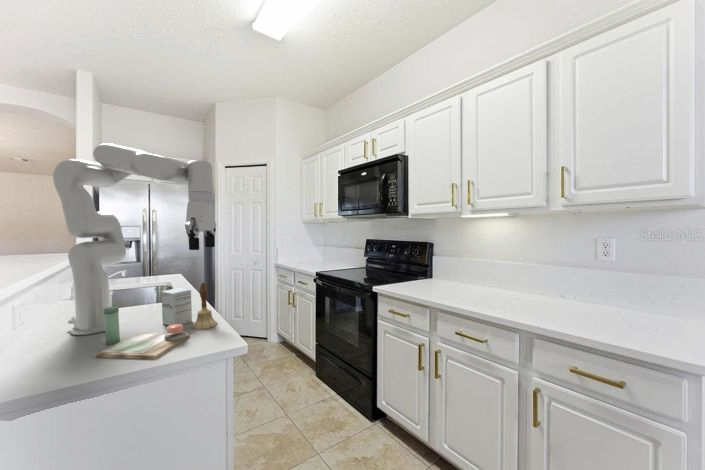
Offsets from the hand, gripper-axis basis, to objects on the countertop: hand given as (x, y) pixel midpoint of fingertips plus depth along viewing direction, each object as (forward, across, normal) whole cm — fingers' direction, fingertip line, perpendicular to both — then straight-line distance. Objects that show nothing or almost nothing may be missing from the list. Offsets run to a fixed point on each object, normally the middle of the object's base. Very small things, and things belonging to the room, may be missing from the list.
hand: (202, 248), depth 104 cm
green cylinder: (+30, +10, -25) cm, 40 cm away
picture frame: (+30, +12, -12) cm, 34 cm away
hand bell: (+30, -7, -4) cm, 31 cm away
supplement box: (+30, -9, -16) cm, 35 cm away
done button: (+26, +7, -6) cm, 28 cm away
